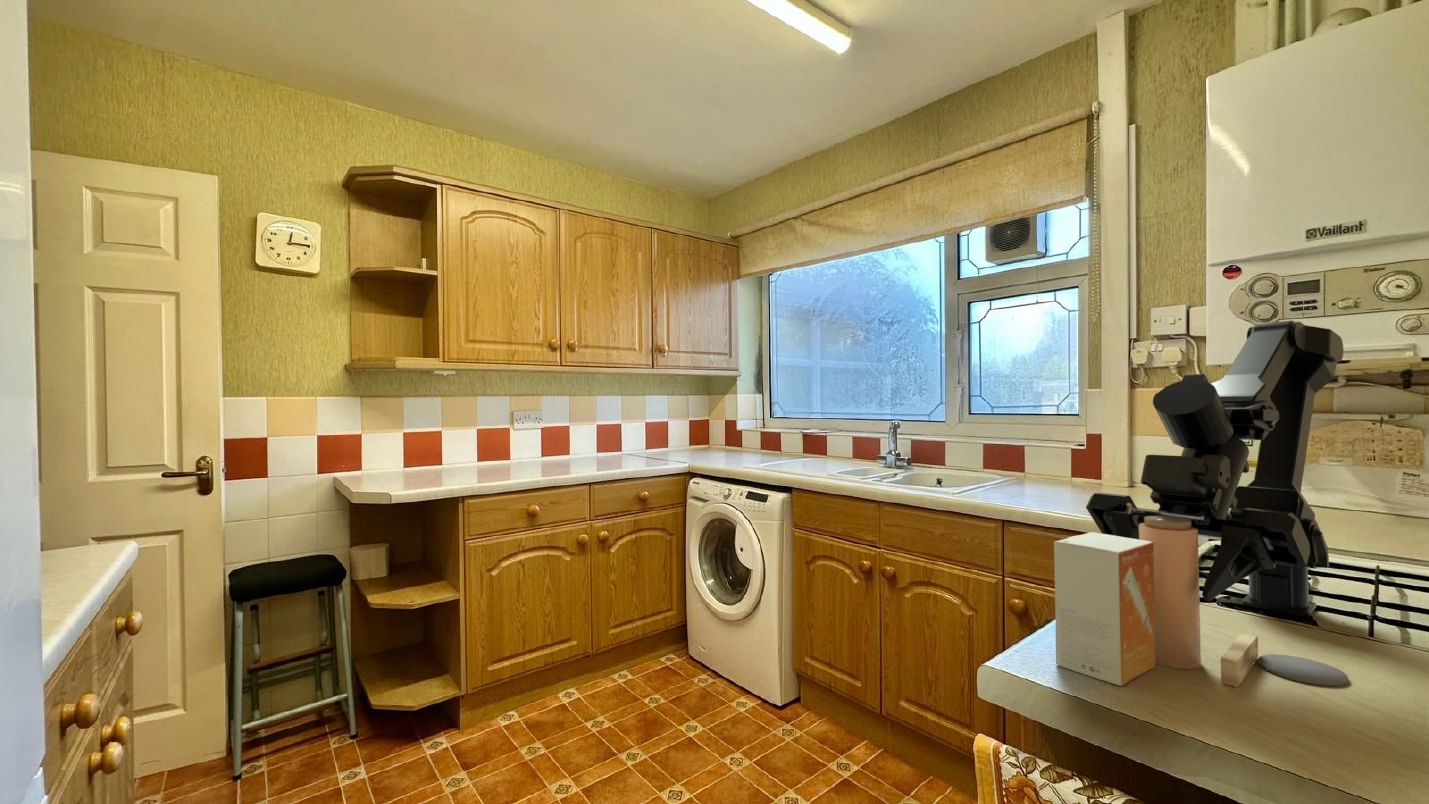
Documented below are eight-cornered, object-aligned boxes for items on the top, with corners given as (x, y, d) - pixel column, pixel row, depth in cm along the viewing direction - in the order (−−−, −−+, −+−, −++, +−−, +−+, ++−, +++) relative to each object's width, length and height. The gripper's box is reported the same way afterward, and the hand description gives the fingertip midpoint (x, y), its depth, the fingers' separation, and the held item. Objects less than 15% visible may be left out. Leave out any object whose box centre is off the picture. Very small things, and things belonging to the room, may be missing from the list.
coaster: (1264, 653, 64) (1264, 649, 64) (1351, 672, 59) (1351, 668, 59) (1252, 670, 60) (1252, 666, 60) (1344, 692, 55) (1344, 688, 55)
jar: (1149, 645, 67) (1146, 513, 67) (1206, 660, 63) (1203, 519, 63) (1135, 658, 63) (1131, 519, 64) (1194, 673, 60) (1190, 525, 60)
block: (1243, 654, 64) (1242, 632, 64) (1258, 658, 63) (1257, 635, 63) (1221, 682, 58) (1220, 657, 58) (1237, 687, 57) (1236, 661, 57)
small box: (1122, 688, 57) (1119, 552, 57) (1054, 665, 62) (1051, 540, 62) (1158, 667, 61) (1155, 540, 61) (1091, 647, 67) (1089, 530, 67)
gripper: (1092, 426, 73) (1042, 526, 68) (1296, 429, 57) (1254, 560, 52) (1126, 485, 77) (1081, 584, 72) (1326, 504, 61) (1289, 633, 56)
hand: (1162, 588), depth 63 cm, fingers open, 7 cm apart
